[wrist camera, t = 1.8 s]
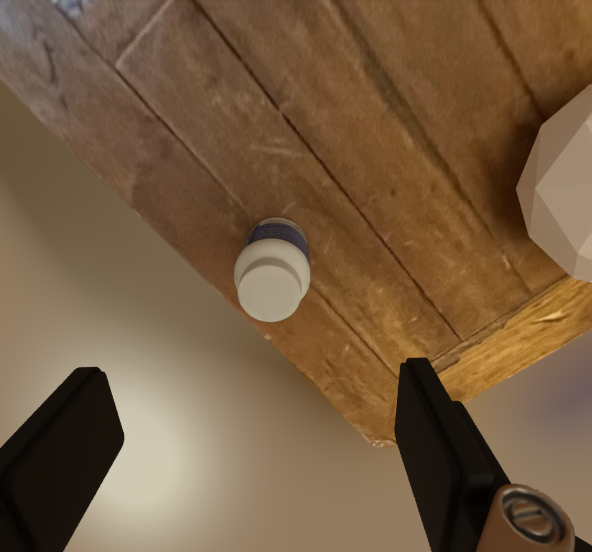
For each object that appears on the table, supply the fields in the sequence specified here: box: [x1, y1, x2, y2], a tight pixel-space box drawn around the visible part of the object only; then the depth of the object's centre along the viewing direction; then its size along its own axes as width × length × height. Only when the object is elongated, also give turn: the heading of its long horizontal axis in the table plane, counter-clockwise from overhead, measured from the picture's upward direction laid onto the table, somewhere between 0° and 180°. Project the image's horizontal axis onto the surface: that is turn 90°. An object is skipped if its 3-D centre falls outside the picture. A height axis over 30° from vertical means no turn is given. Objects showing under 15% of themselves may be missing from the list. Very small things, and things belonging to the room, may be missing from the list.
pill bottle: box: [234, 217, 310, 322], centre depth 26 cm, size 5×5×10 cm
